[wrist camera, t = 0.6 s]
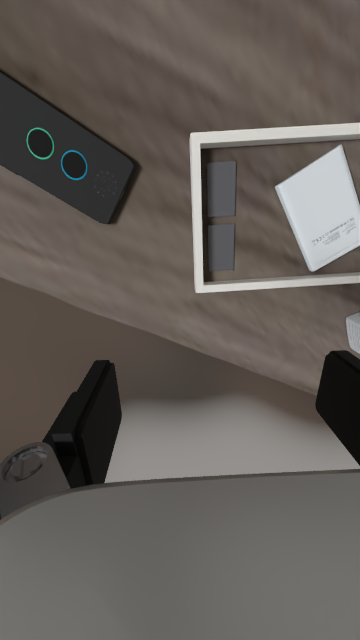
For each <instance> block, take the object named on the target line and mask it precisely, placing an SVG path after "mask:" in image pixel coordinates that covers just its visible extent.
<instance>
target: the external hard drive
mask: <svg viewBox="0 0 360 640" xmlns="http://www.w3.org/2000/svg"><path fill="white" fill-rule="evenodd" d="M275 189H276V191H277V194H278V196H279V199H280V201H281V203H282V206H283V208H284V210H285V213H286V215H287V218H288V220H289V223H290V225H291V227H292V230H293V232H294V235H295V237H296V239H297V242H298V244H299V247H300V249H301V252H302V254H303V256H304V259H305V261H306V264H307V266H308V269H309V271H312V272H313V271H315V270H317V269H319V268H321V267H323V266H324V265H326V264H328V263H330V262H331V261H333V260H335V259H337V258H338V257H340V256H342V255H344V254H346V253H347V252H349V251H351V250H353V249H354V248H356V247H358V246H360V204H359V201H358V198H357V194H356V191H355V188H354V184H353V181H352V177H351V174H350V170H349V167H348V164H347V161H346V157H345V154H344V151H343V147H342V145H339V146H337V147H335V148H333V149H332V150H330V151H329V152H327V153H326V154H324V155H323V156H321V157H320V158H318V159H317V160H315V161H314V162H312V163H310V164H309V165H307V166H306V167H304V168H303V169H301V170H300V171H298V172H297V173H295V174H294V175H292V176H290V177H289V178H287V179H286V180H284V181H283V182H281V183H280V184H278V185H276V186H275Z"/></svg>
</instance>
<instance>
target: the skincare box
mask: <svg viewBox="0 0 360 640" xmlns="http://www.w3.org/2000/svg"><path fill="white" fill-rule="evenodd" d="M346 326H347V334H348V339H349V344H350V347H351V348H352V349H353V350H355V351H356V352H358V353H359V354H360V312H358V313H356V314H353V315H350V316H348V317H346Z"/></svg>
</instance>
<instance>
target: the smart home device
mask: <svg viewBox="0 0 360 640" xmlns="http://www.w3.org/2000/svg"><path fill="white" fill-rule="evenodd" d="M0 165H2V166H3V167H5V168H7V169H8V170H10V171H12V172H14V173H15V174H17V175H20V176H22V177H23V178H25V179H27V180H29V181H30V182H32V183H34V184H35V185H37V186H39V187H40V188H42V189H44V190H45V191H47V192H49V193H50V194H52V195H54V196H56V197H57V198H59V199H61V200H62V201H64V202H66V203H67V204H69V205H71V206H72V207H74V208H76V209H77V210H79V211H81V212H83V213H84V214H86V215H88V216H89V217H91V218H93V219H94V220H96V221H98V222H100V223H103V224H110V222H111V220H112V218H113V215H114V213H115V211H116V209H117V207H118V204H119V202H120V200H121V198H122V196H123V194H124V191H125V189H126V187H127V185H128V182H129V180H130V178H131V176H132V174H133V171H134V169H135V167H134V165H133V164H132V162H131V161H130V160H129V159H128V158H127V157H126V156H124V155H123V154H121V153H120V152H118V151H117V150H115V149H114V148H112V147H111V146H109V145H108V144H106V143H105V142H103V141H102V140H100V139H99V138H97V137H96V136H94V135H93V134H91V133H90V132H88V131H87V130H85V129H84V128H82V127H81V126H79V125H78V124H76V123H75V122H73V121H72V120H70V119H69V118H67V117H66V116H64V115H63V114H62V113H60V112H59V111H57V110H56V109H54V108H53V107H51V106H50V105H48V104H47V103H45V102H44V101H42V100H41V99H39V98H38V97H36V96H35V95H33V94H32V93H30V92H29V91H27V90H26V89H24V88H23V87H21V86H20V85H19V84H18V83H17V82H16V81H14V80H13V79H11V78H10V77H8V76H7V75H5V74H4V73H2V72H1V71H0Z"/></svg>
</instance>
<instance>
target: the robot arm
mask: <svg viewBox="0 0 360 640" xmlns="http://www.w3.org/2000/svg"><path fill="white" fill-rule="evenodd" d="M316 410H317V412H318V413H319V414H320V416H321V417H322V418H323V419H324V421H325V422H326V423H327V425H328V426H329V427H330V428H331V430H332V431H333V432H334V433H335V435H336V436H337V437H338V439H339V440H340V441H341V442H342V444H343V445H344V446H345V447H346V449H347V450H348V451H349V453H350V454H351V455H352V456H353V457H354V459H355V460H356V461H357V463H358V464H359V465H360V359H358V358H357V357H355V356H354V355H352V354H351V353H350V352H348V351H346V350H342V351H331V352H330V353H329V354H328V355H326V357H325V361H324V366H323V371H322V375H321V380H320V385H319V389H318V394H317V399H316ZM121 417H122V413H121V405H120V399H119V392H118V385H117V378H116V372H115V366H114V363H110V361H109V360H96V361H95V362H94V363H93V365H92V367H91V368H90V370H89V372H88V373H87V375H86V377H85V378H84V380H83V382H82V384H81V385H80V387H79V389H78V390H77V392H73V393H72V394H71V395H70V397H69V399H68V400H67V402H66V404H65V405H64V407H63V409H62V410H61V412H60V414H59V415H58V417H57V418H56V420H55V422H54V424H53V425H52V427H51V428H50V430H49V431H48V433H47V435H46V436H45V438H44V439H43V441H42V442H35V443H31V444H27V445H25V446H22V447H20V448H19V449H17V450H16V451H14V452H12V453H11V454H10V455H9V456H7V457H6V458H5V459H4V460H3V462H2V463H1V464H0V640H360V469H348V470H325V471H303V472H282V473H263V474H262V473H261V474H242V475H241V474H240V475H221V476H203V477H184V478H166V479H151V480H138V481H124V482H112V483H104V482H105V478H106V474H107V470H108V467H109V463H110V460H111V456H112V452H113V448H114V445H115V441H116V437H117V434H118V430H119V426H120V423H121Z"/></svg>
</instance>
